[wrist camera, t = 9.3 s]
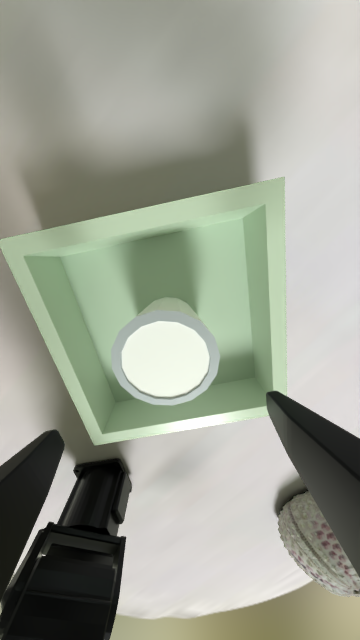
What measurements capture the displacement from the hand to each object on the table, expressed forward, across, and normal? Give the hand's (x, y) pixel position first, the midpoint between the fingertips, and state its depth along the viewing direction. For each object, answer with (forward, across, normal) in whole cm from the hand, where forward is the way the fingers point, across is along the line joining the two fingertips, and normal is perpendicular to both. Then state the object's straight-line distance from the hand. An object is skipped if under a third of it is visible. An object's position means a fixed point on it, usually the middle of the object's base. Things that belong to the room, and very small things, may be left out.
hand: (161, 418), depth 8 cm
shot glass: (+11, 0, 0) cm, 11 cm away
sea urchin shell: (+12, -16, +36) cm, 41 cm away
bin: (+12, 0, 0) cm, 12 cm away
